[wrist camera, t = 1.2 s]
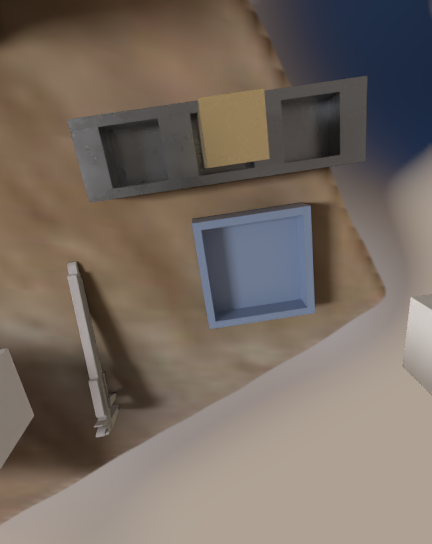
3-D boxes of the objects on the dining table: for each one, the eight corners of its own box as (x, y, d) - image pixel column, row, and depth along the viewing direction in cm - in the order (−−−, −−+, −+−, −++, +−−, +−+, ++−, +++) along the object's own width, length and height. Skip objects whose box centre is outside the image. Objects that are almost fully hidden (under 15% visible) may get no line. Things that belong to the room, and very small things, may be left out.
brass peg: (197, 124, 30) (197, 98, 18) (238, 118, 30) (264, 88, 18) (203, 168, 31) (207, 168, 20) (243, 162, 31) (269, 159, 20)
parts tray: (192, 218, 34) (191, 223, 31) (301, 202, 34) (310, 205, 31) (208, 316, 38) (209, 329, 35) (306, 301, 38) (315, 312, 35)
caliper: (121, 405, 41) (108, 445, 35) (112, 406, 41) (98, 447, 35) (77, 260, 35) (53, 279, 29) (68, 262, 35) (41, 281, 29)
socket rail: (101, 198, 32) (89, 202, 29) (83, 125, 30) (67, 119, 26) (346, 162, 33) (365, 161, 29) (345, 87, 30) (367, 75, 27)
